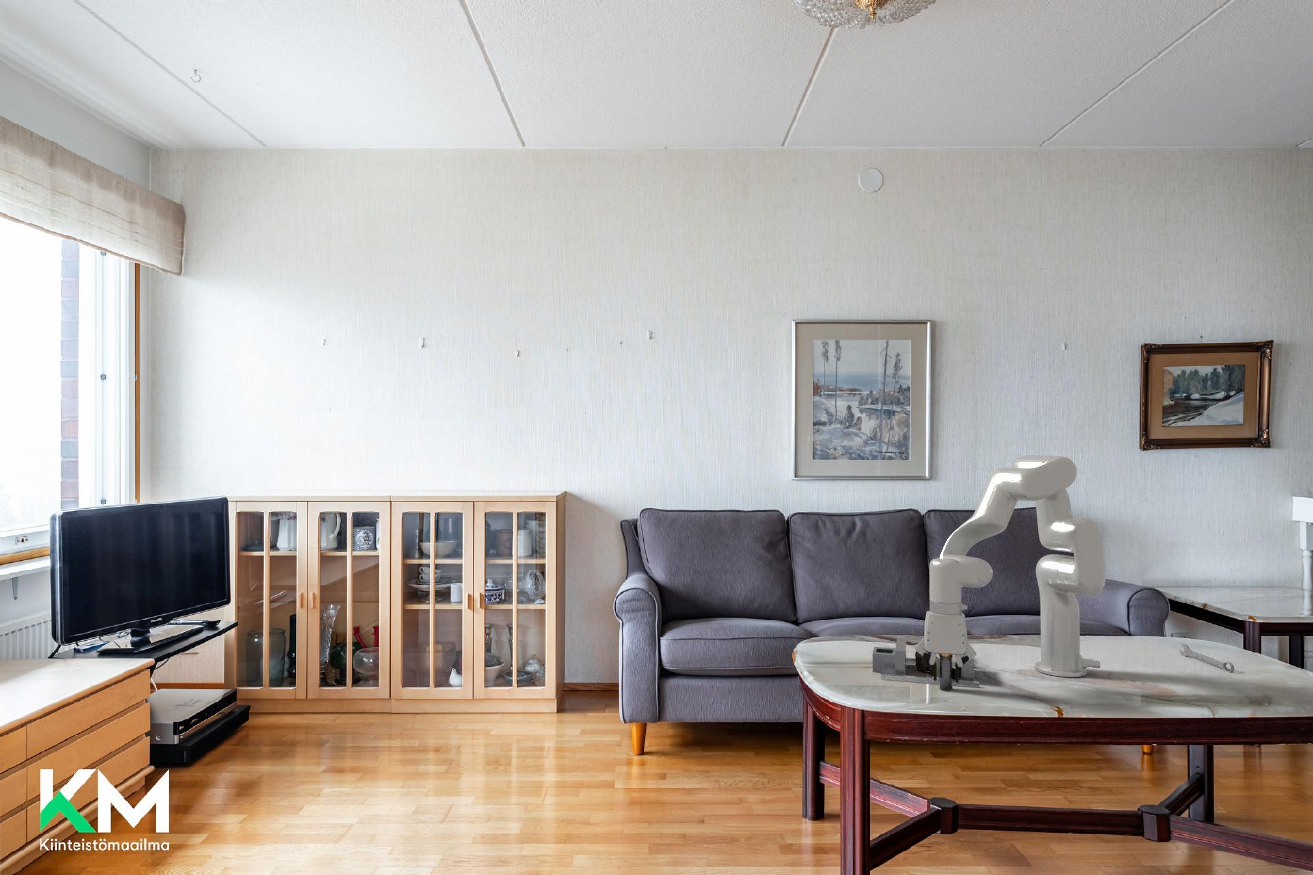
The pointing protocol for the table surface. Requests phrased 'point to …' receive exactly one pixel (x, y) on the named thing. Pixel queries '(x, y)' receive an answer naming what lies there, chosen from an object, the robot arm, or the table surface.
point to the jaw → (968, 669)
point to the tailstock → (890, 659)
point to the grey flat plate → (927, 679)
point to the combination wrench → (1205, 658)
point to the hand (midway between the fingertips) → (946, 679)
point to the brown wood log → (928, 664)
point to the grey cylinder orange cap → (945, 672)
